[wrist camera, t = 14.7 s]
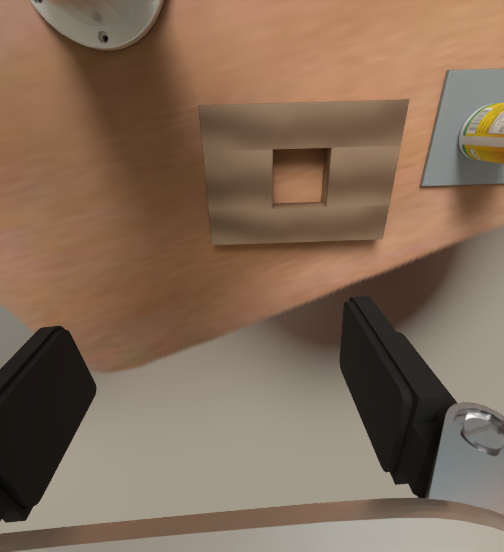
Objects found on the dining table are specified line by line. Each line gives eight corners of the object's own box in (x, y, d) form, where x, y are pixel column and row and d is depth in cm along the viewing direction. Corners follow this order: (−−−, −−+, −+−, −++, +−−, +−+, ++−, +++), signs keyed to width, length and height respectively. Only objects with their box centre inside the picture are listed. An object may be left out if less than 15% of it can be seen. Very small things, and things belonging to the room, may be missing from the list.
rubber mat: (446, 70, 28) (449, 70, 28) (555, 67, 29) (559, 67, 28) (420, 185, 33) (422, 186, 33) (512, 182, 34) (515, 182, 33)
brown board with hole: (201, 107, 29) (198, 105, 27) (396, 101, 29) (409, 99, 27) (213, 238, 35) (211, 245, 33) (373, 232, 36) (382, 239, 34)
